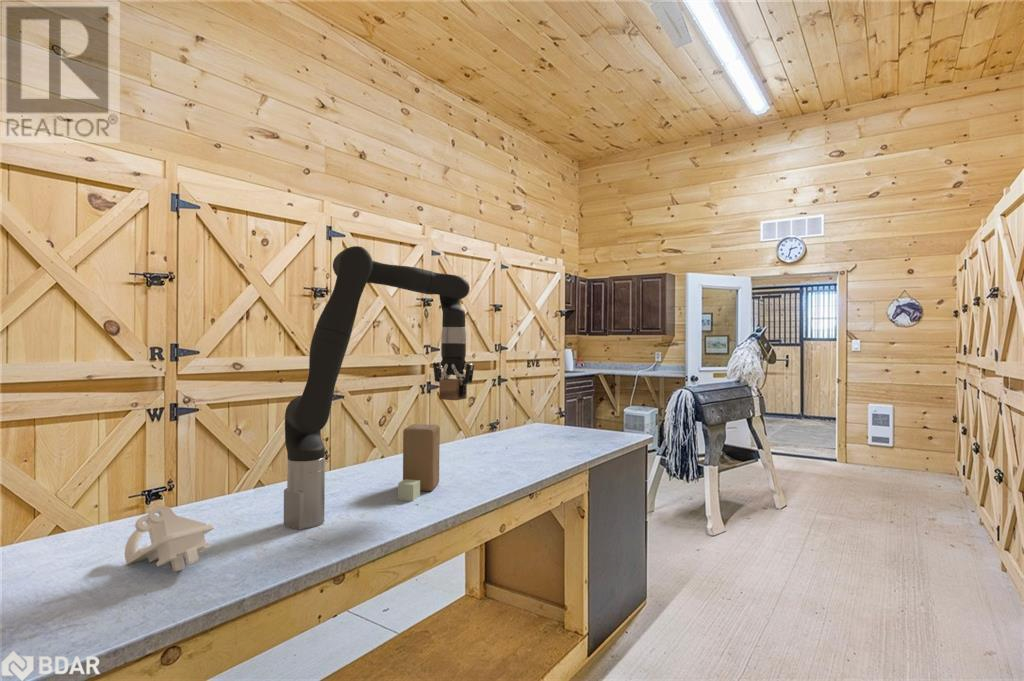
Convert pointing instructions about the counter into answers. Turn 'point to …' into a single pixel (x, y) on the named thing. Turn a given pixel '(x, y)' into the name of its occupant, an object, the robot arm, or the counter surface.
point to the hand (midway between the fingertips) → (453, 396)
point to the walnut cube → (450, 389)
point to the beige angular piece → (168, 539)
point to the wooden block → (421, 455)
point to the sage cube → (409, 490)
